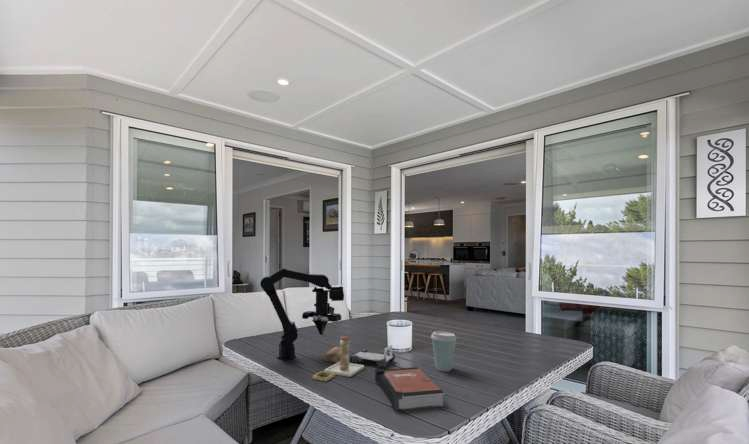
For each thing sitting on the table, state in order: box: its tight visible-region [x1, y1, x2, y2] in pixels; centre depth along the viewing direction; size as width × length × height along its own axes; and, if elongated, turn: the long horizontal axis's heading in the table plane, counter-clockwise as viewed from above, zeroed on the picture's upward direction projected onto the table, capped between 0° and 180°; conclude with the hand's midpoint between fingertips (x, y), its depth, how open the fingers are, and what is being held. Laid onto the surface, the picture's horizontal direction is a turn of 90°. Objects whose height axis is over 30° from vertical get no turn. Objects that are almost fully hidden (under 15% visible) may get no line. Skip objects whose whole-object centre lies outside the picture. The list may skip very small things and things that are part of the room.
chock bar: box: [324, 346, 340, 363], centre depth 170 cm, size 7×12×4 cm, turn 164°
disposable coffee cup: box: [430, 331, 458, 372], centre depth 154 cm, size 11×11×15 cm
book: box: [374, 366, 445, 412], centre depth 129 cm, size 26×18×5 cm
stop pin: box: [339, 335, 350, 371], centre depth 152 cm, size 4×4×13 cm
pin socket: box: [311, 370, 336, 383], centre depth 143 cm, size 6×6×1 cm
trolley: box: [349, 344, 396, 369], centre depth 162 cm, size 17×12×8 cm
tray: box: [323, 361, 365, 378], centre depth 152 cm, size 12×12×1 cm
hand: (321, 334), depth 174 cm, fingers closed
